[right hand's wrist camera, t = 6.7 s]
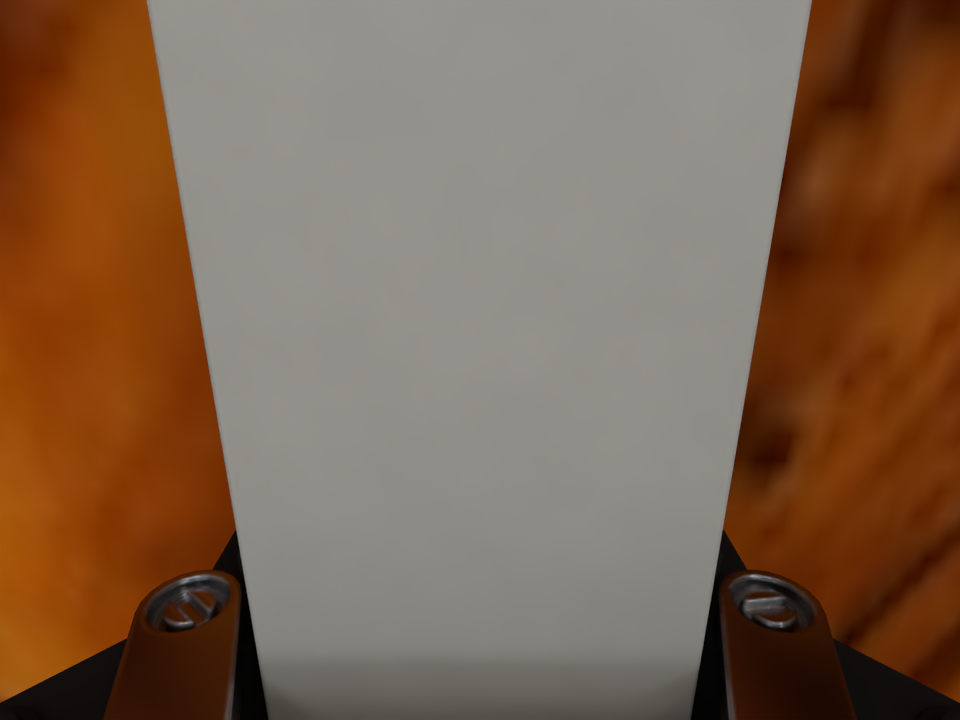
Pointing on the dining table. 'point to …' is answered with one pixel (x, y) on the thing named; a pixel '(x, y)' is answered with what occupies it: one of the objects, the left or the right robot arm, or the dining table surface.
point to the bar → (479, 333)
